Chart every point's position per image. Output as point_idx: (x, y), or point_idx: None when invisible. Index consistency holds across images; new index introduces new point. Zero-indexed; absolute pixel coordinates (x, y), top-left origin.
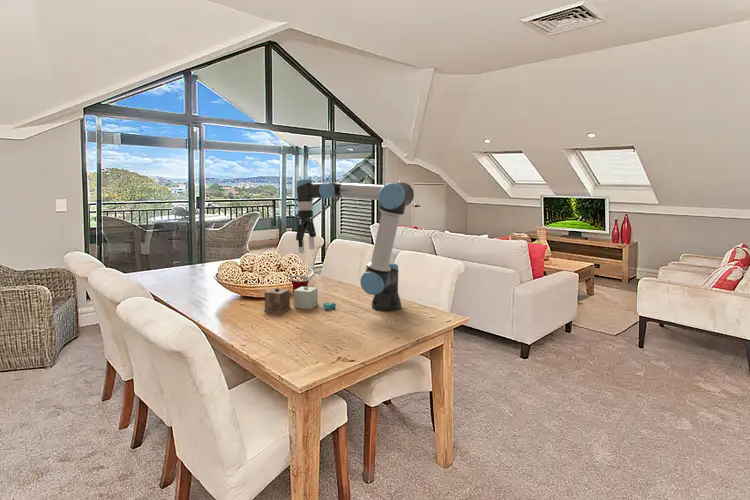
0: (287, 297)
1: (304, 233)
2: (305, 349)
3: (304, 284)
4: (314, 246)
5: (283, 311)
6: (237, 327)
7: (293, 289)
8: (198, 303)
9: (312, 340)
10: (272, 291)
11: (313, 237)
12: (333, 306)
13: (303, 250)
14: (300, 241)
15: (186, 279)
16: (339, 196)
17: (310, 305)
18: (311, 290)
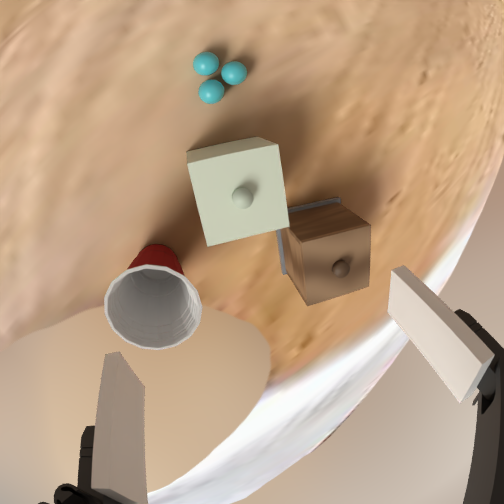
0: (308, 226)
1: (501, 455)
2: (485, 24)
3: (162, 264)
4: (102, 378)
5: (329, 199)
6: (452, 215)
7: (183, 294)
8: (328, 399)
9: (458, 20)
10: (352, 273)
11: (110, 484)
12: (215, 55)
13: (421, 283)
14: (498, 351)
15: (199, 490)
16: None
17: (260, 138)
18: (252, 154)
